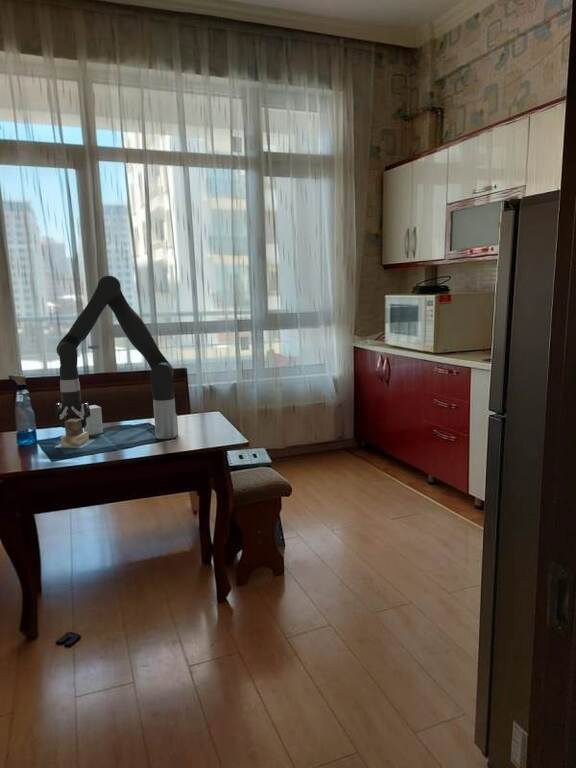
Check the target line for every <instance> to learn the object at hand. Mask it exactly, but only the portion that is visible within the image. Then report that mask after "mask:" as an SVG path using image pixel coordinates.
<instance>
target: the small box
mask: <svg viewBox="0 0 576 768" xmlns="http://www.w3.org/2000/svg"><path fill="white" fill-rule="evenodd" d="M89 408H90V415H91V416H90V417H88V418H86V422H87V425H86V427H85V428H83V432H88V434H89V436H92V435H99V434H102V433H104V425H103V413H102V407H101V406H98V405H96V404H93V405H92V404H91V405H89ZM81 409H82V410H83V412H84V409H83V407H81ZM84 414H85V413H84Z"/></svg>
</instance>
